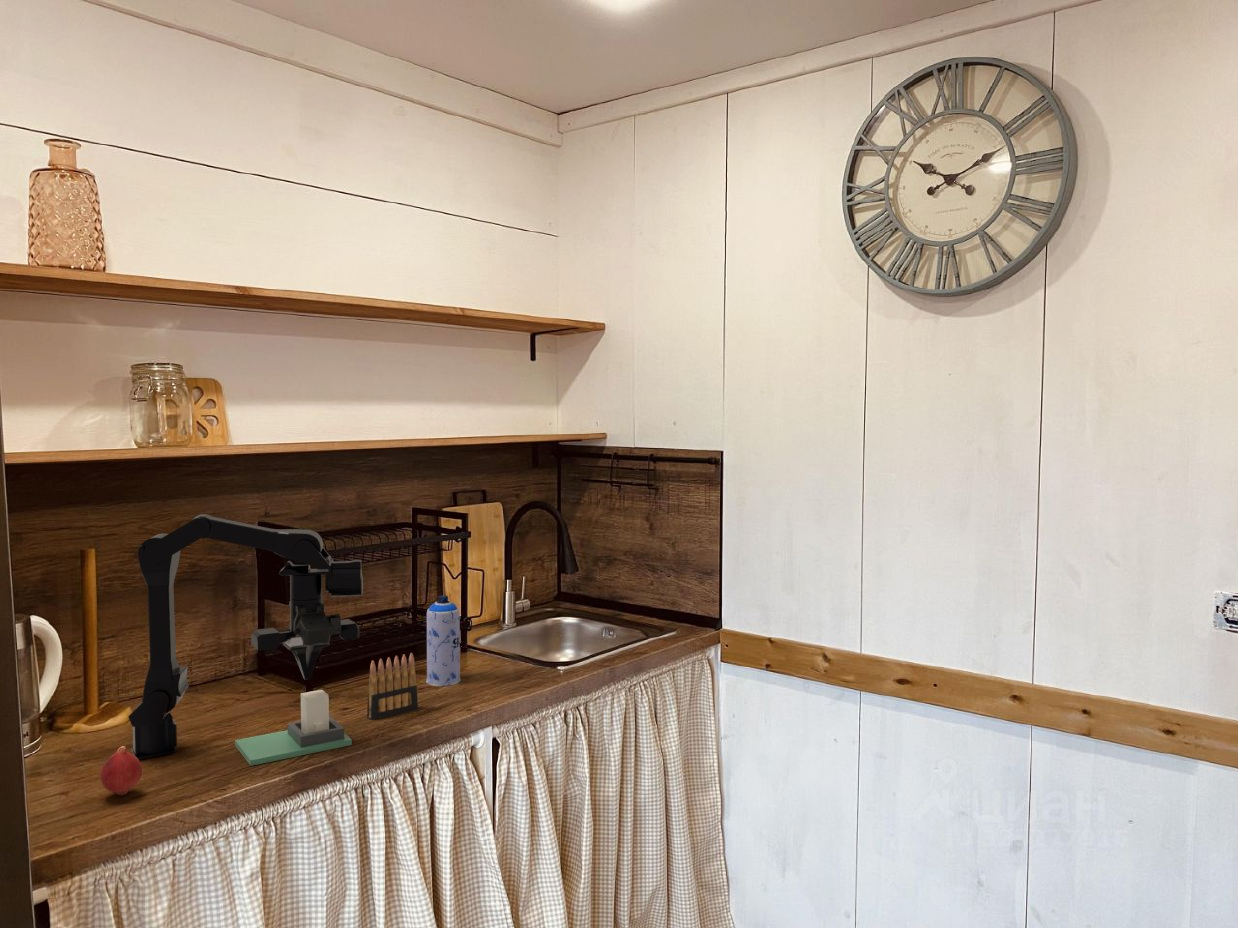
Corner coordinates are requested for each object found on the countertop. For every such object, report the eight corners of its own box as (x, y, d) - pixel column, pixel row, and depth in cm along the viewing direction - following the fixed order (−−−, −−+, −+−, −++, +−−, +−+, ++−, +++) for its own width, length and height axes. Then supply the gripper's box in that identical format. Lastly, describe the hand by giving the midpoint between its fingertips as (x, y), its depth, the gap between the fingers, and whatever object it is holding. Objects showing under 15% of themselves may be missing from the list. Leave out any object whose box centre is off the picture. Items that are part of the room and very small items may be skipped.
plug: (308, 742, 166) (308, 699, 166) (297, 730, 172) (296, 689, 172) (330, 737, 169) (329, 696, 168) (318, 726, 175) (317, 686, 174)
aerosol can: (454, 686, 204) (454, 600, 203) (421, 685, 205) (421, 599, 204) (464, 676, 212) (464, 593, 211) (432, 675, 213) (432, 592, 212)
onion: (103, 805, 141) (102, 755, 141) (99, 793, 146) (98, 744, 145) (144, 796, 145) (143, 748, 144) (139, 784, 149) (138, 737, 149)
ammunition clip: (413, 706, 190) (413, 650, 190) (418, 708, 189) (417, 652, 188) (366, 717, 183) (366, 659, 182) (371, 720, 182) (370, 661, 181)
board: (250, 765, 158) (250, 749, 157) (235, 745, 167) (234, 729, 167) (351, 744, 168) (351, 729, 168) (331, 726, 178) (331, 711, 178)
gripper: (265, 610, 157) (265, 698, 158) (369, 599, 168) (369, 681, 168) (250, 599, 166) (250, 682, 167) (350, 590, 177) (350, 668, 178)
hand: (306, 679), depth 170 cm, fingers closed
